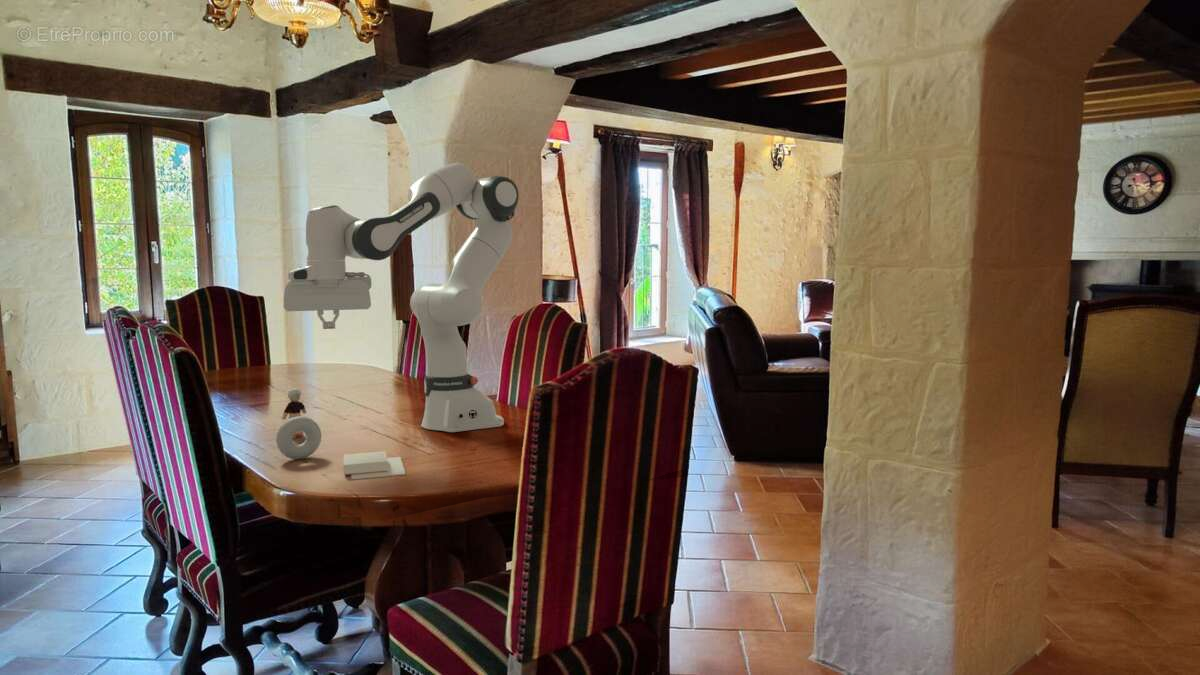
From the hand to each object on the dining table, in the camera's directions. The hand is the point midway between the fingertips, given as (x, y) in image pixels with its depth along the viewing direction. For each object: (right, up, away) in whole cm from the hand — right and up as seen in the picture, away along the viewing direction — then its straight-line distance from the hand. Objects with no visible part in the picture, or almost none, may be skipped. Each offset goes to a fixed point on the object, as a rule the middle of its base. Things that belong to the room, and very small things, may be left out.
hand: (329, 328), depth 186 cm
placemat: (+18, -31, -20) cm, 41 cm away
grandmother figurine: (-12, -28, +10) cm, 32 cm away
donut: (-3, -30, -12) cm, 33 cm away
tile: (+11, -30, -22) cm, 39 cm away
